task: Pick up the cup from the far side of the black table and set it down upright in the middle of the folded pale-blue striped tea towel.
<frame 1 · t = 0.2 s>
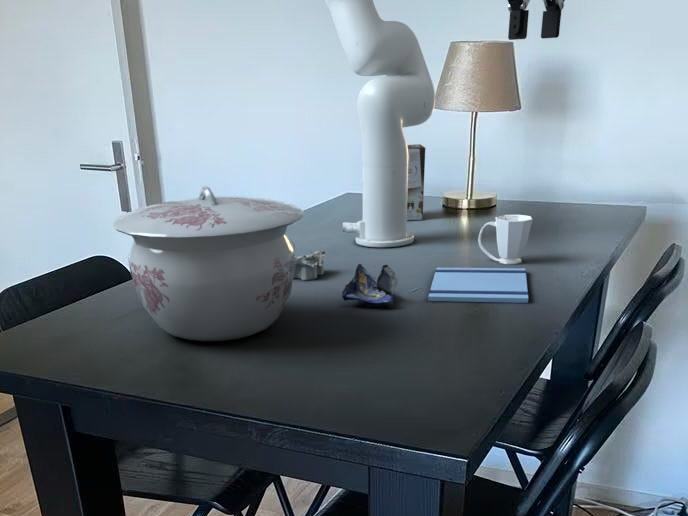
hand: (533, 38, 133), 37 cm above the table, tool pointing down, fingers open, 9 cm apart
towel: (478, 286, 138), on the table
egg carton: (294, 276, 150), on the table
snack package: (374, 301, 133), on the table
chamber pot: (220, 329, 123), on the table
cup: (502, 262, 153), on the table
coffee box: (408, 218, 196), on the table
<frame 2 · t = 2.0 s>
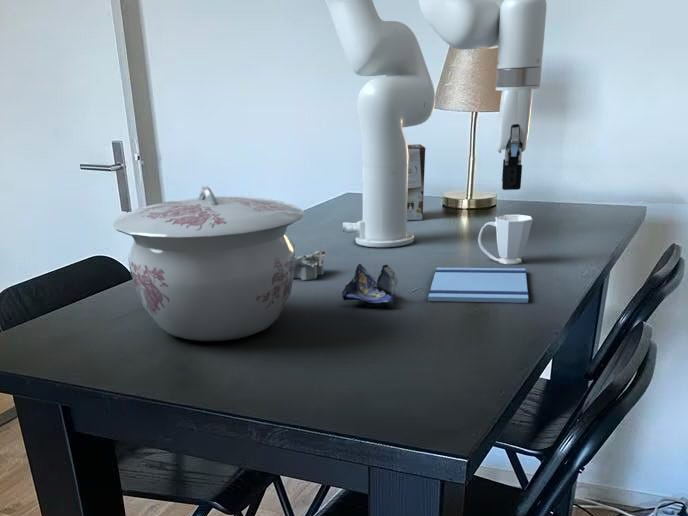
hand: (510, 185, 146), 14 cm above the table, tool pointing down, fingers open, 9 cm apart
nothing on the table moved.
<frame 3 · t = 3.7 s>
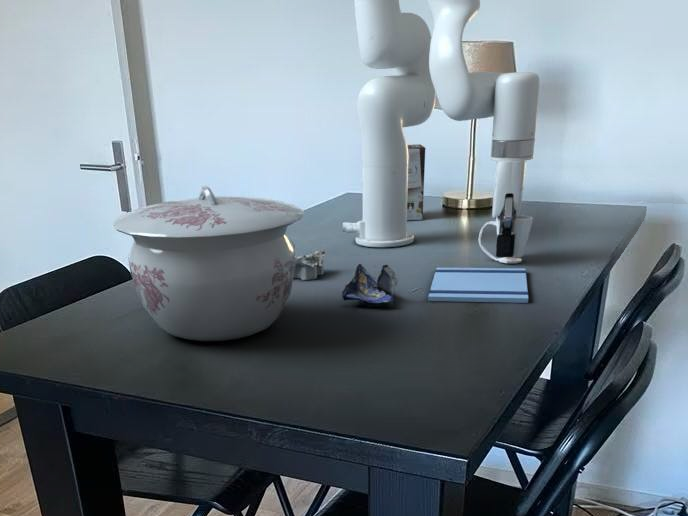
hand: (504, 251, 152), 2 cm above the table, tool pointing down, fingers closed on cup, 6 cm apart
cup: (502, 261, 153), on the table, touching gripper
everything else where it was.
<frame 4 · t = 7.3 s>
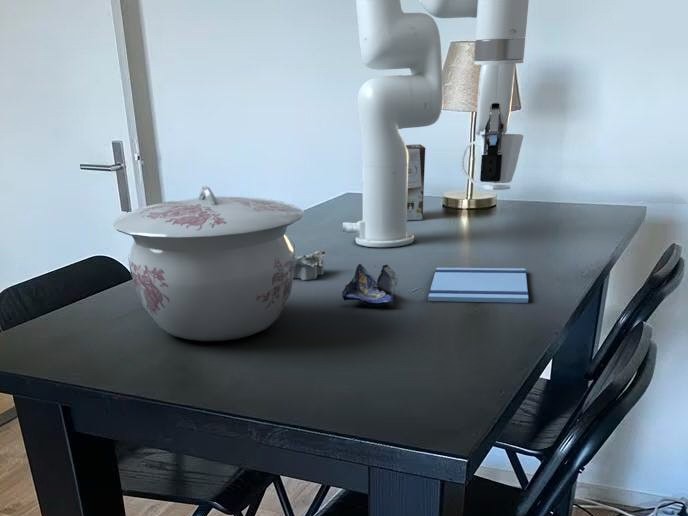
hand: (490, 177, 132), 17 cm above the table, tool pointing down, fingers closed on cup, 6 cm apart
cup: (488, 189, 133), point 15 cm above the table, touching gripper
everything else where it was.
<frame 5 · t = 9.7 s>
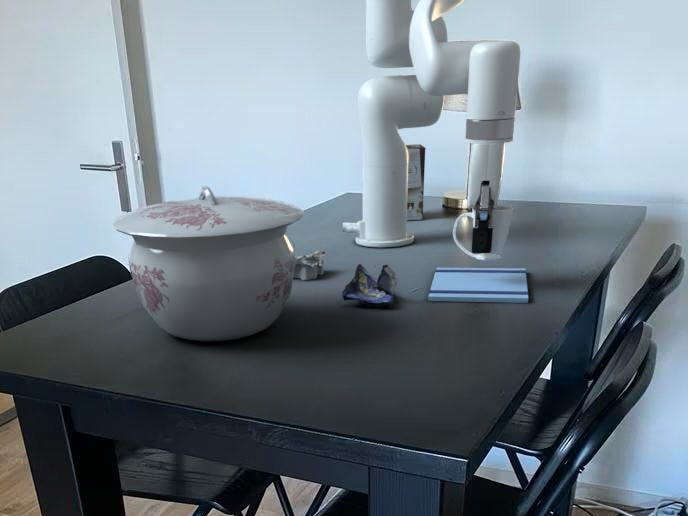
hand: (481, 247, 135), 7 cm above the table, tool pointing down, fingers closed on cup, 6 cm apart
cup: (479, 258, 136), point 5 cm above the table, touching gripper
everything else where it was.
when the fingers open (3 cm above the table, at t = 11.1 s): cup stays where it is, resting on towel.
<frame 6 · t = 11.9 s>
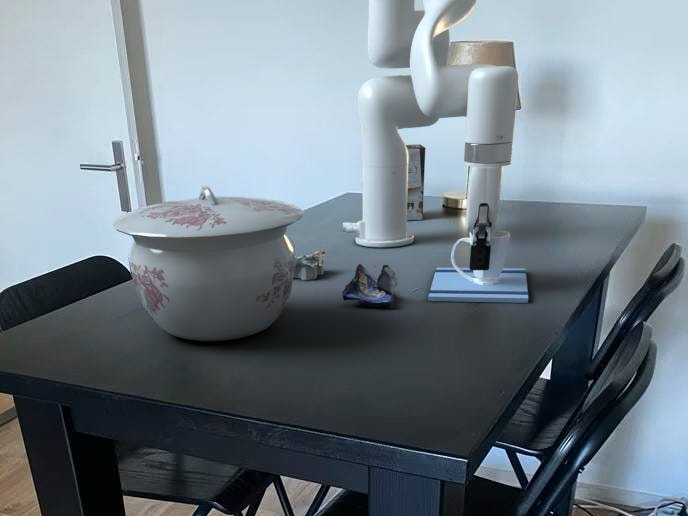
hand: (479, 262, 136), 4 cm above the table, tool pointing down, fingers open, 9 cm apart
cup: (477, 282, 138), point 1 cm above the table, touching towel
everything else where it was.
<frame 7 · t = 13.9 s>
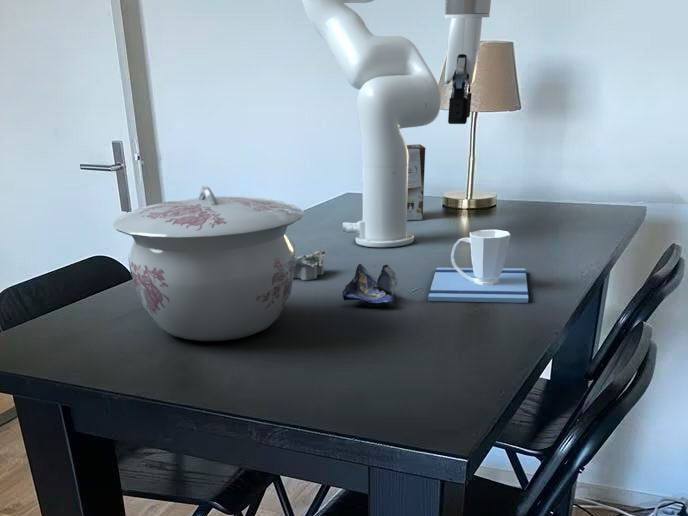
hand: (459, 120, 142), 25 cm above the table, tool pointing down, fingers open, 9 cm apart
nothing on the table moved.
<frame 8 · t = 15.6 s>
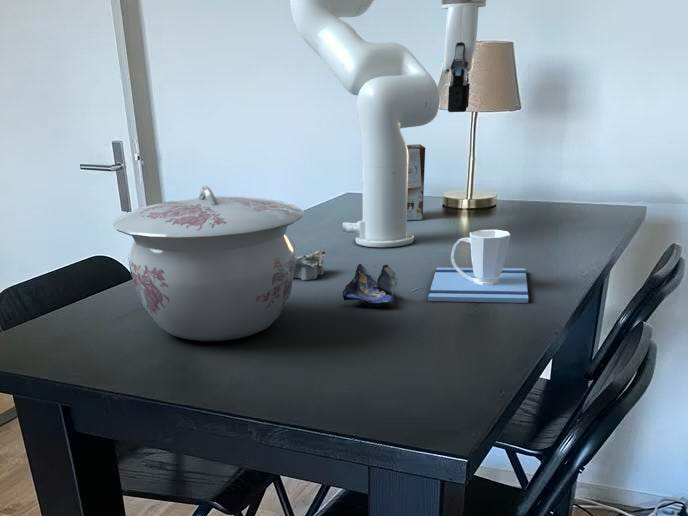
hand: (458, 109, 144), 26 cm above the table, tool pointing down, fingers open, 9 cm apart
nothing on the table moved.
at the end: cup inside the target area on the towel (0.4 cm from its centre), point 0.6 cm above the towel's base; cup tilted 0°; cup touching towel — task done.
